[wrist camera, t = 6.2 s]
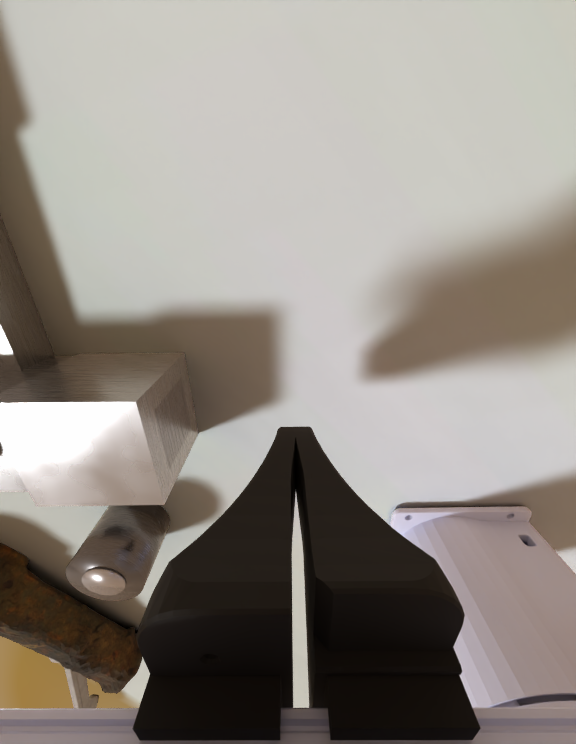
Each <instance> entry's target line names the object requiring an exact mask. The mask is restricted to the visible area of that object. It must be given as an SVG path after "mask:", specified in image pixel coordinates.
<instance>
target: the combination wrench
mask: <svg viewBox="0 0 576 744" xmlns="http://www.w3.org/2000/svg"><path fill="white" fill-rule="evenodd" d="M50 660H51V662H58V661H56V660H54V659H51V658H50ZM65 673H66V677H67V681H68V685H69V689H70V693H71V697H72V702H73V706H74V708H96V706H97V703H98V699H99V695H96V694H93V695H91V696H90V697H89V693H88V686H87V679H86V677H84V676H82V675H81V674H80V673H77V672H72V671H71V669H66V668H65Z"/></svg>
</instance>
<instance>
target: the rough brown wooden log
mask: <svg viewBox="0 0 576 744" xmlns="http://www.w3.org/2000/svg"><path fill="white" fill-rule="evenodd" d="M28 562H29V560H28V558H27V557H26V556H24V555H23V554H21V553H19V552H17V551H15V550H14V549H12V548H10V547H8V546H6V545H4V544H1V543H0V636H2V637H5V638H7V639H10V640H12V641H14V642H16V643H19V644H20V645H22V646H24V647H27V648H29V649H32V650H34V651H36V652H37V653H40V654H42V655H45V656H47V657H49V658H51V659H54V660H56V661H58V662H59V663H61V665H62V666H63V667H64V668H66V669H71V671H72V672H77V673H80V674H81V675H82V676H84V677H86V678H88V679H92V680H94V681H96V682H98V683H99V684H100V685H101V688H102V691H104V692H105V693H116V694H117V693H118V692H120V691H121V690H122V689H123V688H124V687H125V685H126V684H127V683H128V682H129V681H130V680H131V679H132V678H133V677H134V676H135V675H136V673H137V671H138V669H139V667H140V664H141V661H142V654H141V652H140V650H139V647H138V644H137V639H136V635H137V634H135V630H134V627H130V628H129V629H125V628H123V627H121V626H120V625H118V624H116V623H115V622H113V621H111V620H109V619H107V618H105V617H104V616H102V615H100V614H98V613H97V612H95V611H94V610H92V609H90V608H88V607H87V605H84V604H82V603H80V602H78V601H77V600H76V599H74V598H72V597H71V596H69V595H67V594H65V593H63V592H61V591H60V590H58V589H56V588H54V587H53V586H51V585H49V584H47V583H45V582H43V581H41V580H40V579H39V578H38V577H37V576H36V575H34V574H33V573H32V572H31V571H30V570H28V569H27V565H28Z"/></svg>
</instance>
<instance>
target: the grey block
mask: <svg viewBox="0 0 576 744" xmlns="http://www.w3.org/2000/svg"><path fill="white" fill-rule="evenodd" d="M198 433H199V432H198V426H197V421H196V415H195V409H194V404H193V398H192V392H191V387H190V381H189V375H188V370H187V364H186V358H185V353H184V352H176V353H96V354H77V355H75V356H73V357H71V358H69V359H67V360H65V361H63V362H61V363H59V364H57V365H55V366H53V367H51V368H49V369H47V370H45V371H43V372H41V373H39V374H37V375H36V376H34V377H32V378H30V379H28V380H26V381H24V382H22V383H20V384H18V385H16V386H14V387H12V388H10V389H8V390H6V391H4V392H2V393H0V441H1V443H2V445H3V447H4V448H5V450H6V452H7V454H8V456H9V457H10V459H11V461H12V463H13V465H14V467H15V468H16V470H17V472H18V474H19V476H20V478H21V479H22V481H23V483H24V485H25V487H26V488H27V490H28V492H29V494H30V496H31V498H32V499H33V501H34V503H35V505H36V506H110V505H165V503H166V500H167V498H168V496H169V494H170V492H171V490H172V488H173V486H174V484H175V482H176V479H177V477H178V475H179V473H180V471H181V469H182V467H183V465H184V463H185V461H186V459H187V456H188V454H189V452H190V450H191V448H192V446H193V444H194V442H195V440H196V438H197V436H198Z"/></svg>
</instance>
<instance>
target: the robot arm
mask: <svg viewBox="0 0 576 744" xmlns="http://www.w3.org/2000/svg"><path fill="white" fill-rule="evenodd" d="M295 492H296V494H297V502H298V510H299V518H300V526H301V534H302V542H303V553H304V576H305V601H306V627H307V653H308V681H309V708H293V657H292V555H291V554H292V534H293V520H294V506H295ZM531 516H532V512H531V511H530V510H529V509H528V508H527V507H524V506H515V507H448V508H398V509H396V510H394V511H393V513H392V518H391V523H390V525H388V524H387V523H386V522H385V521H384V520H383V519H382V518H381V517H380V516H378V515H377V514H376V513H375V512H374V511H373V510H372V509H371V508H370V507H369V506H368V505H367V504H366V503H365V502H364V501H363V500H362V499H361V498H360V497H359V496H358V495H357V494H356V493H355V492H354V491H353V490H352V489H351V487H350V486H349V485H348V484H347V483H346V482H345V480H344V479H343V478H342V477H341V475H340V474H339V473H338V471H337V470H336V469H335V468H334V466H333V465H332V463H331V462H330V460H329V459H328V457H327V456H326V454H325V453H324V451H323V450H322V448H321V446H320V444H319V443H318V441H317V439H316V437H315V435H314V433H313V430H312V429H311V428H310V427H280V428H279V429H278V431H277V434H276V437H275V440H274V442H273V444H272V446H271V448H270V450H269V452H268V454H267V456H266V458H265V460H264V461H263V463H262V464H261V466H260V468H259V469H258V471H257V472H256V474H255V475H254V477H253V478H252V480H251V481H250V483H249V484H248V485H247V487H246V488H245V489H244V491H243V492H242V493H241V494H240V496H239V497H238V498H237V499H236V500H235V501H234V503H233V504H232V505H231V506H230V507H229V508H228V509H227V510H226V511H225V513H224V514H223V515H222V516H221V517H220V518H219V519H218V520H217V521H216V522H215V523H213V524H212V525H211V526H210V527H209V528H208V529H207V530H206V531H205V532H204V533H203V534H202V535H201V536H200V537H199V538H198V539H196V540H195V541H194V542H193V543H192V544H190V545H189V546H188V547H187V548H186V549H184V550H183V551H182V552H181V553H180V554H178V555H177V556H176V557H175V558H174V559H172V560H171V561H170V562H169V563H168V565H167V567H166V569H165V570H164V572H163V574H162V576H161V578H160V580H159V582H158V584H157V586H156V587H155V589H154V591H153V594H152V596H151V598H150V600H149V603H148V606H147V608H146V611H145V613H144V616H143V618H142V621H141V624H140V626H139V629H138V632H137V635H136V639H137V644H138V647H139V650H140V652H141V654H142V656H143V659H144V661H145V663H146V665H147V667H148V670H149V672H150V677H149V680H148V683H147V686H146V689H145V692H144V695H143V698H142V701H141V704H140V707H139V708H74V709H73V708H72V709H71V708H61V709H60V708H57V709H55V708H52V709H51V708H50V709H49V708H48V709H0V744H576V574H575V573H574V572H573V571H572V570H571V568H570V567H569V566H568V565H567V564H566V563H565V562H564V561H563V559H562V558H561V557H560V556H559V555H558V554H557V553H556V552H555V550H554V549H553V548H552V547H551V546H550V545H549V544H548V543H547V541H546V540H545V539H544V538H543V537H542V536H541V535H540V534H539V533H538V531H537V530H536V529H535V528H534V527H533V526H532V525H531V524H530V522H529V520H530V518H531Z"/></svg>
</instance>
